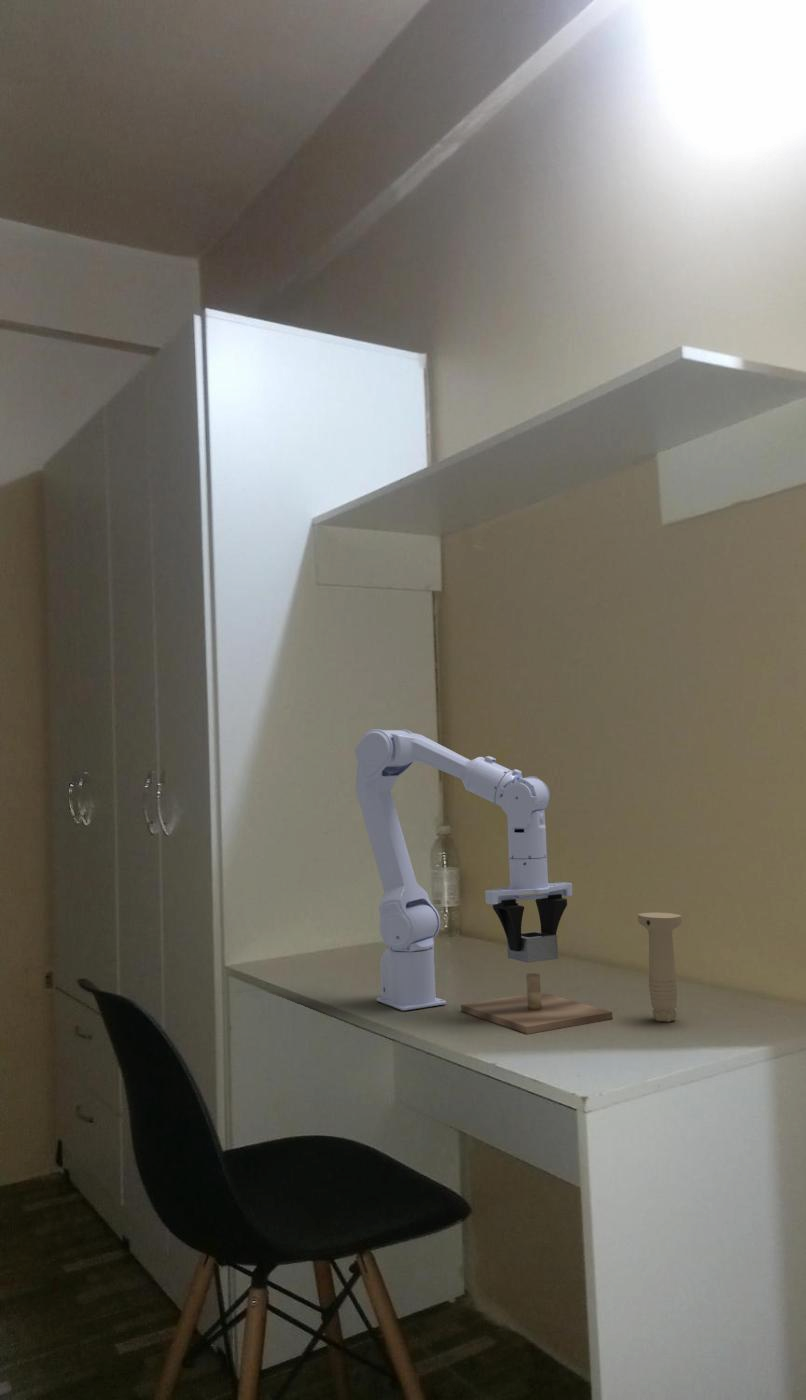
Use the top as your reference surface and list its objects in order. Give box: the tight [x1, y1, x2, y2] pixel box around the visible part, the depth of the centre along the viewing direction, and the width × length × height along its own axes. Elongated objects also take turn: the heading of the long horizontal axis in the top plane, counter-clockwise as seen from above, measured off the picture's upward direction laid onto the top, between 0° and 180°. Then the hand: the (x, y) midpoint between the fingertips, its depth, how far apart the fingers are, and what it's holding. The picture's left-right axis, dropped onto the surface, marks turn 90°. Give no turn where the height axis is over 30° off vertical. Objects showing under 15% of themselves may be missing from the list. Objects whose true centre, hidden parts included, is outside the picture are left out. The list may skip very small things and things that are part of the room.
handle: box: [637, 911, 683, 1023], centre depth 162 cm, size 5×6×15 cm
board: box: [460, 972, 613, 1035], centre depth 168 cm, size 18×15×6 cm
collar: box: [506, 930, 559, 964], centre depth 168 cm, size 5×5×4 cm
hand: (531, 948), depth 168 cm, fingers closed on collar, 5 cm apart
